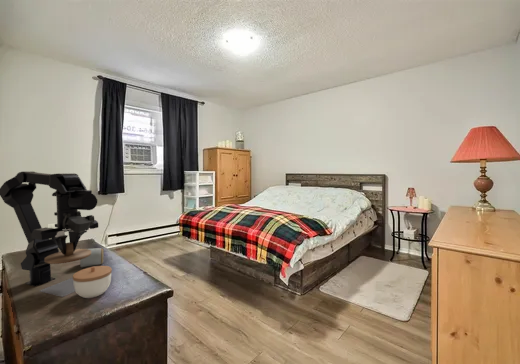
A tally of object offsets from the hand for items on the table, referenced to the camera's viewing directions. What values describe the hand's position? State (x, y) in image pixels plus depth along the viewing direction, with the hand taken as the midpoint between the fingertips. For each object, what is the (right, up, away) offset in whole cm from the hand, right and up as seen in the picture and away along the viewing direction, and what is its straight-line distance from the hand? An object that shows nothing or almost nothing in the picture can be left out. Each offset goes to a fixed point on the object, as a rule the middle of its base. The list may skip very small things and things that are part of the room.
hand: (68, 252), depth 86 cm
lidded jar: (+12, -13, -5) cm, 18 cm away
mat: (0, -12, +1) cm, 12 cm away
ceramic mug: (-7, -12, +21) cm, 25 cm away
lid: (0, -2, 0) cm, 2 cm away
